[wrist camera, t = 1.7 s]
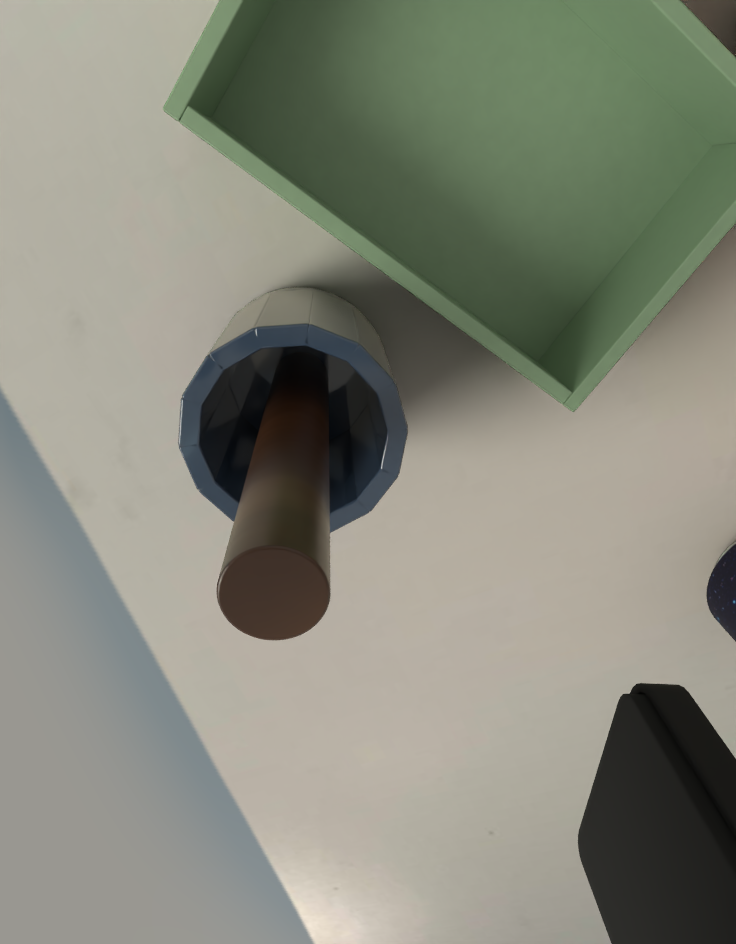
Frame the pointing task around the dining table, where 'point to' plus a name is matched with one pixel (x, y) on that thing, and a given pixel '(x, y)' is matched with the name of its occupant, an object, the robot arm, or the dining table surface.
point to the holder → (247, 388)
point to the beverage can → (724, 591)
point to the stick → (283, 512)
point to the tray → (488, 154)
